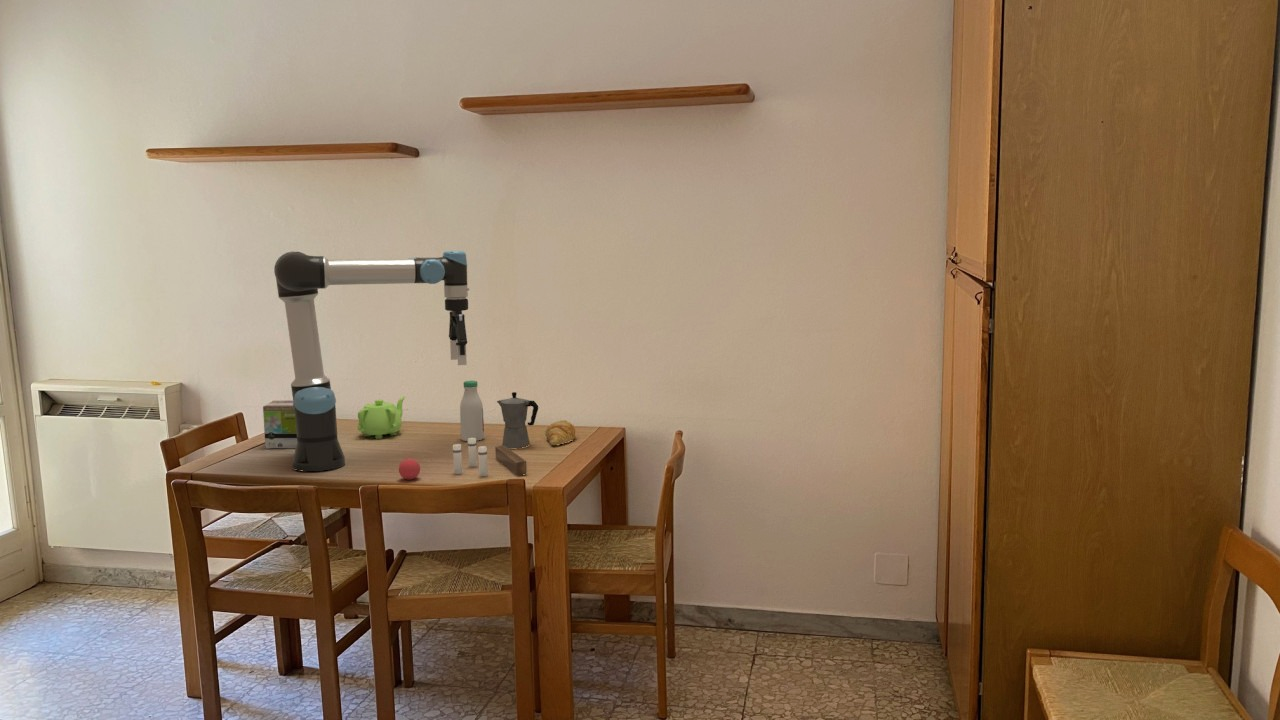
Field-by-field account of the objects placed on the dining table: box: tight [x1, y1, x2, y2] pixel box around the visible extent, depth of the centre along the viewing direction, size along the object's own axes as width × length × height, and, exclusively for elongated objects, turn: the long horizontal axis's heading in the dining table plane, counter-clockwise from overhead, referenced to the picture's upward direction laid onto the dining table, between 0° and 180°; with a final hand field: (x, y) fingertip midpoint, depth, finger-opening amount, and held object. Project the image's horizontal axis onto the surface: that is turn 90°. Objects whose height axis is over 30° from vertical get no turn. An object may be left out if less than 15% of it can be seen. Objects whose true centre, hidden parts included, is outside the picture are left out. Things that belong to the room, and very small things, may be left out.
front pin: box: [452, 443, 463, 475], centre depth 273 cm, size 3×3×8 cm
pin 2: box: [477, 445, 489, 478], centre depth 270 cm, size 3×3×8 cm
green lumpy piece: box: [357, 396, 406, 440], centre depth 325 cm, size 16×14×13 cm
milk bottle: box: [459, 380, 485, 442], centre depth 315 cm, size 8×8×20 cm
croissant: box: [544, 420, 576, 446], centre depth 313 cm, size 21×10×8 cm, turn 173°
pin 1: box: [467, 438, 478, 468], centre depth 281 cm, size 3×3×8 cm
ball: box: [398, 458, 421, 480], centre depth 267 cm, size 6×6×6 cm
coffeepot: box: [496, 391, 539, 449], centre depth 304 cm, size 15×9×18 cm, turn 66°
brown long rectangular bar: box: [495, 445, 528, 476], centre depth 280 cm, size 3×22×4 cm, turn 25°
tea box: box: [262, 400, 297, 450], centre depth 310 cm, size 15×10×15 cm
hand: (458, 362), depth 309 cm, fingers open, 13 cm apart
